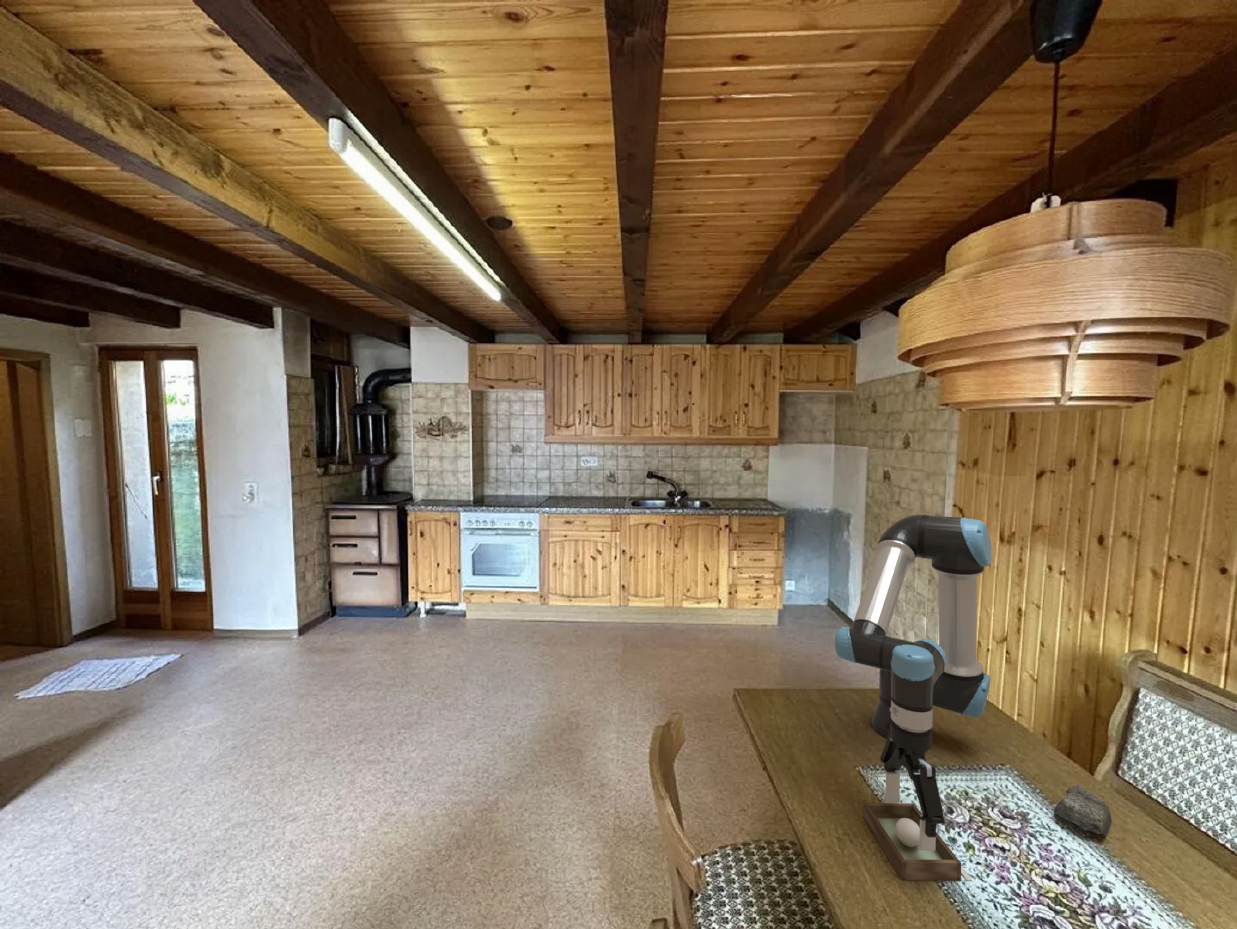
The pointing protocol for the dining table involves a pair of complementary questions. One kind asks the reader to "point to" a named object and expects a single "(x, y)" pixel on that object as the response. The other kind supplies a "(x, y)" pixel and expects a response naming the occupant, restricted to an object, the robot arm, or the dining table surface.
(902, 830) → the cream egg
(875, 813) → the brown wooden tray
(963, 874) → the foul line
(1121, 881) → the dining table surface
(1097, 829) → the rock
